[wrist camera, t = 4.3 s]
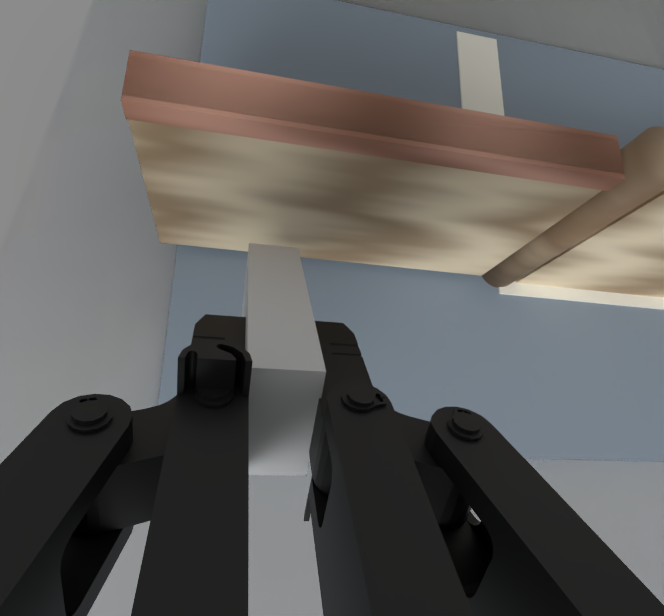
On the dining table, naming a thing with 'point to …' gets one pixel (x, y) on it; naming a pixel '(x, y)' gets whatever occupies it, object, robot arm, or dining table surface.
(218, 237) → the fence panel
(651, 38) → the dining table surface
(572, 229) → the fence fixed section
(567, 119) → the board
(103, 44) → the dining table surface
